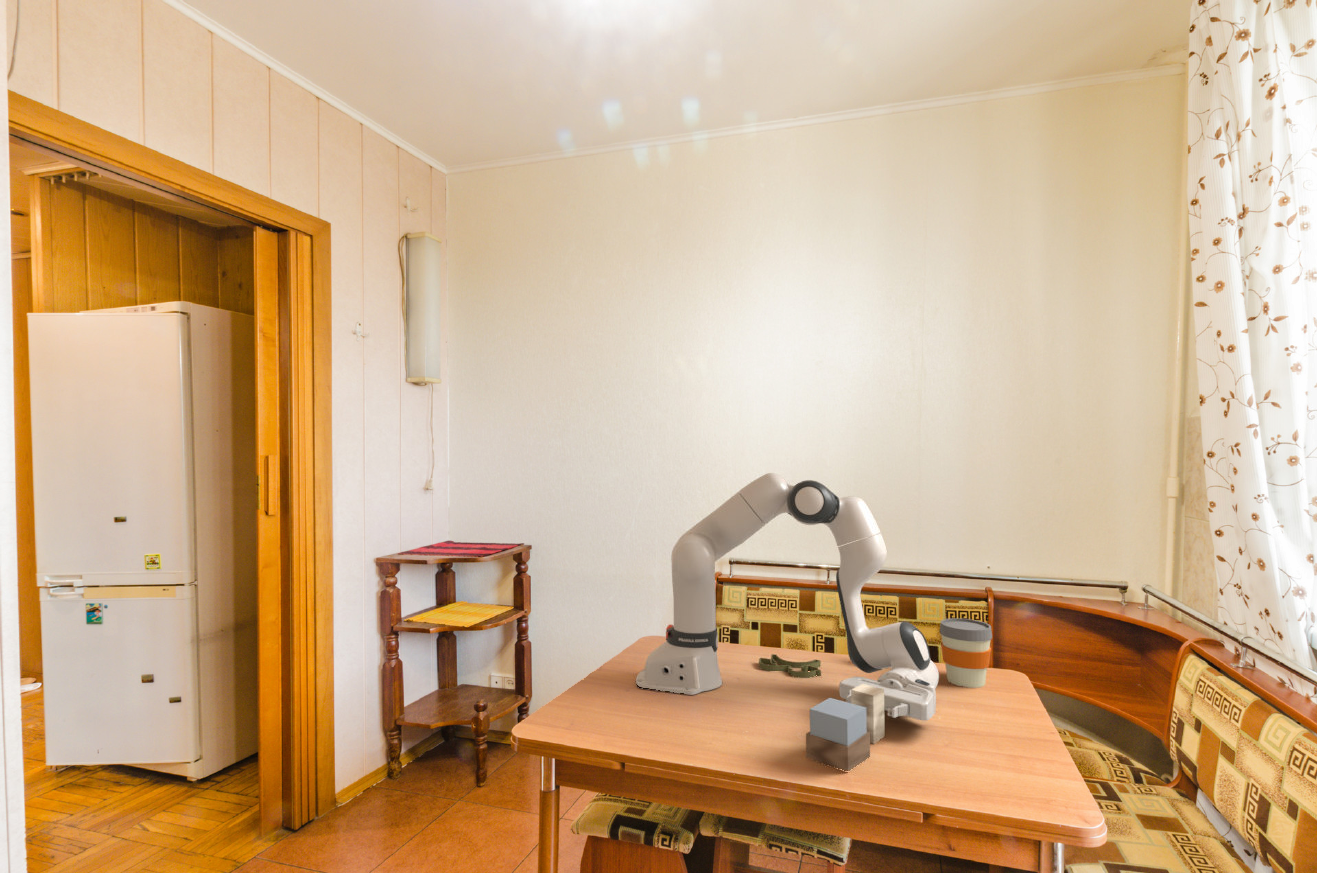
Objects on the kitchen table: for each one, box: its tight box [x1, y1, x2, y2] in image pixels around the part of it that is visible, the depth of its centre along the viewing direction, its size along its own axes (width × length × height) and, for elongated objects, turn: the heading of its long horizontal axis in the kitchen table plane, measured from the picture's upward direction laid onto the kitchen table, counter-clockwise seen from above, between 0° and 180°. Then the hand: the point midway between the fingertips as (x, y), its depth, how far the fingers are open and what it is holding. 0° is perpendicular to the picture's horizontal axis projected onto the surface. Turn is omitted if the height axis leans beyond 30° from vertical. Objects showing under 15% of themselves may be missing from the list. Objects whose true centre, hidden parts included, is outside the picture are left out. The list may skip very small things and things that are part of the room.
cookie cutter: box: [758, 653, 822, 679], centre depth 187 cm, size 18×12×2 cm, turn 65°
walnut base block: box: [805, 731, 871, 772], centre depth 133 cm, size 9×9×5 cm
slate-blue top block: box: [809, 697, 867, 746], centre depth 133 cm, size 8×8×5 cm
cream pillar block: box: [851, 684, 886, 745], centre depth 143 cm, size 5×5×10 cm
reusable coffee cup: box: [939, 617, 993, 689], centre depth 176 cm, size 13×12×15 cm
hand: (869, 707), depth 144 cm, fingers open, 8 cm apart
